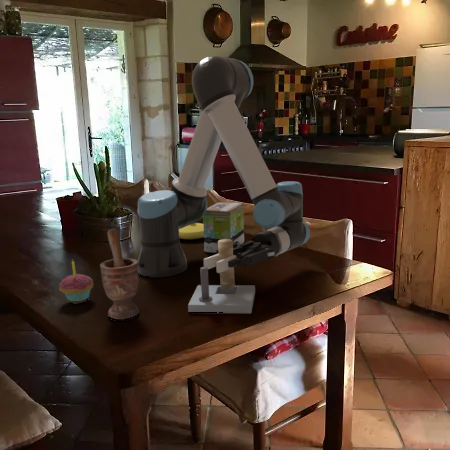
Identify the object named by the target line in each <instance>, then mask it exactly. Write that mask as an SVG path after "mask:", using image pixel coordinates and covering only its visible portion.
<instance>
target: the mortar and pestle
mask: <svg viewBox="0 0 450 450" xmlns="http://www.w3.org/2000/svg"><path fill="white" fill-rule="evenodd" d="M107 240H108V243H109V246H110V247H109V248H110V250H111V252H112V253H111V254H112V258H111V259H107V260H105V261H103V262H101V263H100V264H99V267H100V274H101V282H102V287H103V290H104V292H105V294H106V296H107V298H108V299H109V300H111V301H112V306H110V307H109V309H108V312H107V317H108V316H109V317H111V318H114V319H125V318H130V317H133V316H135V315H137V314H138V313H139V314H140V309H139V308H138V306H137V305H136V304H135V303H134V302H133V298H134V297H135V296H137V295H136V294H137V293H138V289H139V283H140V280H139V279H140V277H139V276H140V274H138V259H135V258H130V257H129V258H128V257H127V258H126V257H123V255H122V248H121V236H120V232H119V229H117V228H111V229H108V231H107Z"/></svg>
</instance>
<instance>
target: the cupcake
mask: <svg viewBox="0 0 450 450" xmlns="http://www.w3.org/2000/svg"><path fill="white" fill-rule="evenodd" d="M71 267H72V274H70V275H67V276H66V277H64V278H63V279H61V281H60V282H59V283H58V287H59V288H58V290H59V291H60V292H61V293H63V294H64V295H65V298H66V299H67V301H68V300H70V301H82V300H85V299H87V298H88V297H90V293H91V290H92V288H94V280H93V279H92V277H90V276H89V275H86V274H82V273H77V271H76V264H75V261H74V259H72V260H71ZM88 299H89V298H88Z"/></svg>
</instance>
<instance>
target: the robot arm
mask: <svg viewBox="0 0 450 450" xmlns="http://www.w3.org/2000/svg"><path fill="white" fill-rule="evenodd" d="M191 86H192V90H193V93H194V97H195V99H196V101H197V104H198V105H199V107H200V109H201V112H200V114H199V118H198V120H197V122H196V123H197V124H196V126H195V129H194V132H193V135H192V138H191V141H190V143H189V146H188V150H187V152H186V156H185V159H184V162H183V164H182V167H181V171H180V174H179V176H178V177H177V178H174V179H173V180H172V182H171V185H170V188H169V190H168V189H165V190H164V189H163V190H161V189H160V190H155V191H150V192H147V193H144V194H143V195H141V196H140V197H139V198H138V201H137V209H136V211H137V215H138V216H137V217H138V226H139V235H140V236H139V238H140V249H139V255H138V258H137V261H138V273H139V274H138V275H140V274H141V275H140V276H142V275H143V276H142V277H146V276H149V277H148V278H169V277H173V276H176V275H179V274H182V273H184V272H185V271H186V270H187V269H188V261H187V258H186V255H185V253H184V250H183V247H182V246H181V245H182V244H181V242H180V239H181V238H179V229H181V228H183V227H186V226H188V225H191V224H194V223H198V221H200V220H201V219H202V218H203V216H204V214H205V212H206V210H207V208H208V200H207V195H208V190H207V188H206V184H207V182H208V179H209V176H210V174H211V170H212V167H213V166H214V163H215V160H216V157H217V154H218V151H219V149H220V146H221V144H223V146H224V148H225V150H226V152H227V153H228V156H229V157H230V160H231V162H232V163H233V165H234V168H235V170H236V172H237V173H238V175H239V177H240V179H241V181H242V183H243V185H244V187H245V189H246V191H247V193H248V195H249V197H250V199H251V201H252V203H253V206H254V207H253V211H252V213H253V214H252V215H253V220H254V221H255V223H256V224H257V225H258V226H259V227H262V228H264V229H266V230H263V231H261V232H258V233H256V234H255V235H253V237H252V239H251V240H247V242H244V243H242V244H240V243H239V242H238V241H236V242H234V243H233V256H231V257H228V258H225V259H222V260H220V261H219V250H216V254H213V255H211V256H209V257H205V258H203V267H207V268H208V270H210V269H213V268H216V273H217V274H220V273H221V272H223V271H226V270H228V269H231V268H233V267H234V268H235V267H237V266H238V267H242V266H244V267H251V266H253V265H256V264H259V263H262V262H264V261H267V260H271V259H275V257H278V256H279V255H281V254H283V253H286V252H288V251H290V250H293V249H296V248H299V247H300V246H302V245H304V244H305V243H307V242H308V241H309V239H310V236H311V229H310V227H309V225H308V223H307V222H306V221H304V217H303V215H304V214H303V213H304V212H303V210H304V209H303V206H304V205H303V204H304V203H303V199H304V198H303V197H304V194H303V185H302V183H301V182H299V181H288V180H287V181H281V182H278V183H276V182H275V180H274V178H273V176H272V174H271V171H270V170H269V168H268V166H267V164H266V161H265V160H264V158H263V156H262V154H261V152H260V150H259V148H258V146H257V144H256V142H255V140H254V138H253V136H252V135H251V132H250V131H249V128H248V127H247V124H246V122H245V121H244V118H243V116H242V115H241V112H240V111H239V109H240V107H241V104H242V102H243V100H245V99H247V97H248V96H250V94H251V93H252V91H253V87H254V75H253V73H252V70H251V69H250V66H248V65H247V63H245V62H243V61H242V60H238V59H236V58H234V57H233V58H232V57H225V56H223V57H222V56H219V55H210V56H206V57H204V58H203V59H201V60H199V61H198V63H197V64H196V65H195V67H194V69H193V71H192V75H191Z"/></svg>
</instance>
